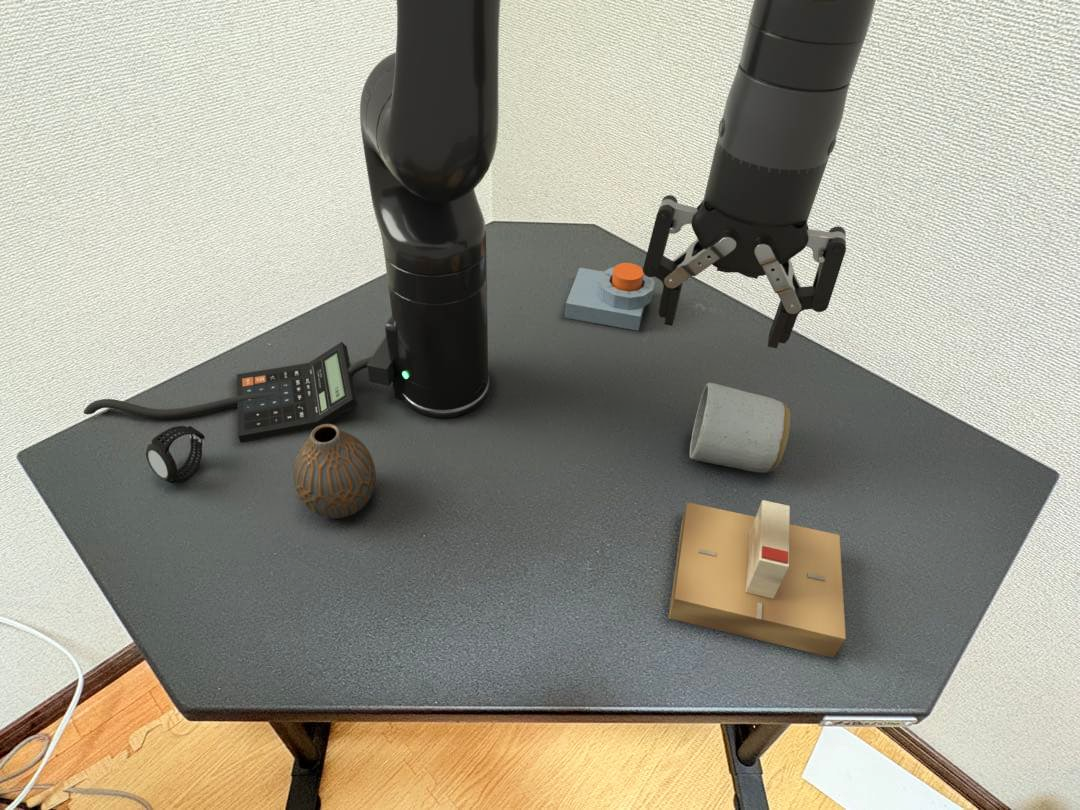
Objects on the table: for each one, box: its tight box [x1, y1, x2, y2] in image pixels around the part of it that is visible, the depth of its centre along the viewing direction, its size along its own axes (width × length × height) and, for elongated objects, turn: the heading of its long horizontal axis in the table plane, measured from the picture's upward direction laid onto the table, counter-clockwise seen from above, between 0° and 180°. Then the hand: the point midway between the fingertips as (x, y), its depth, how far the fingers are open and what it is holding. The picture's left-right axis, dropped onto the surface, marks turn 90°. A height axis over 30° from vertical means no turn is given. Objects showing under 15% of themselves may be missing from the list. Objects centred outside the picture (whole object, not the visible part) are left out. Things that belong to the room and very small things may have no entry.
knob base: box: [668, 501, 847, 659], centre depth 60 cm, size 13×10×3 cm
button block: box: [564, 266, 656, 332], centre depth 88 cm, size 10×8×4 cm
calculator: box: [236, 341, 359, 443], centre depth 75 cm, size 9×12×3 cm
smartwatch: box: [145, 425, 206, 484], centre depth 66 cm, size 4×5×5 cm
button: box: [612, 262, 644, 292], centre depth 86 cm, size 4×4×2 cm
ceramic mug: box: [689, 382, 791, 474], centre depth 71 cm, size 11×8×8 cm
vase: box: [292, 423, 377, 519], centre depth 63 cm, size 7×7×9 cm
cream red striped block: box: [746, 499, 791, 599], centre depth 58 cm, size 6×2×5 cm, turn 165°
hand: (720, 330), depth 60 cm, fingers open, 8 cm apart
